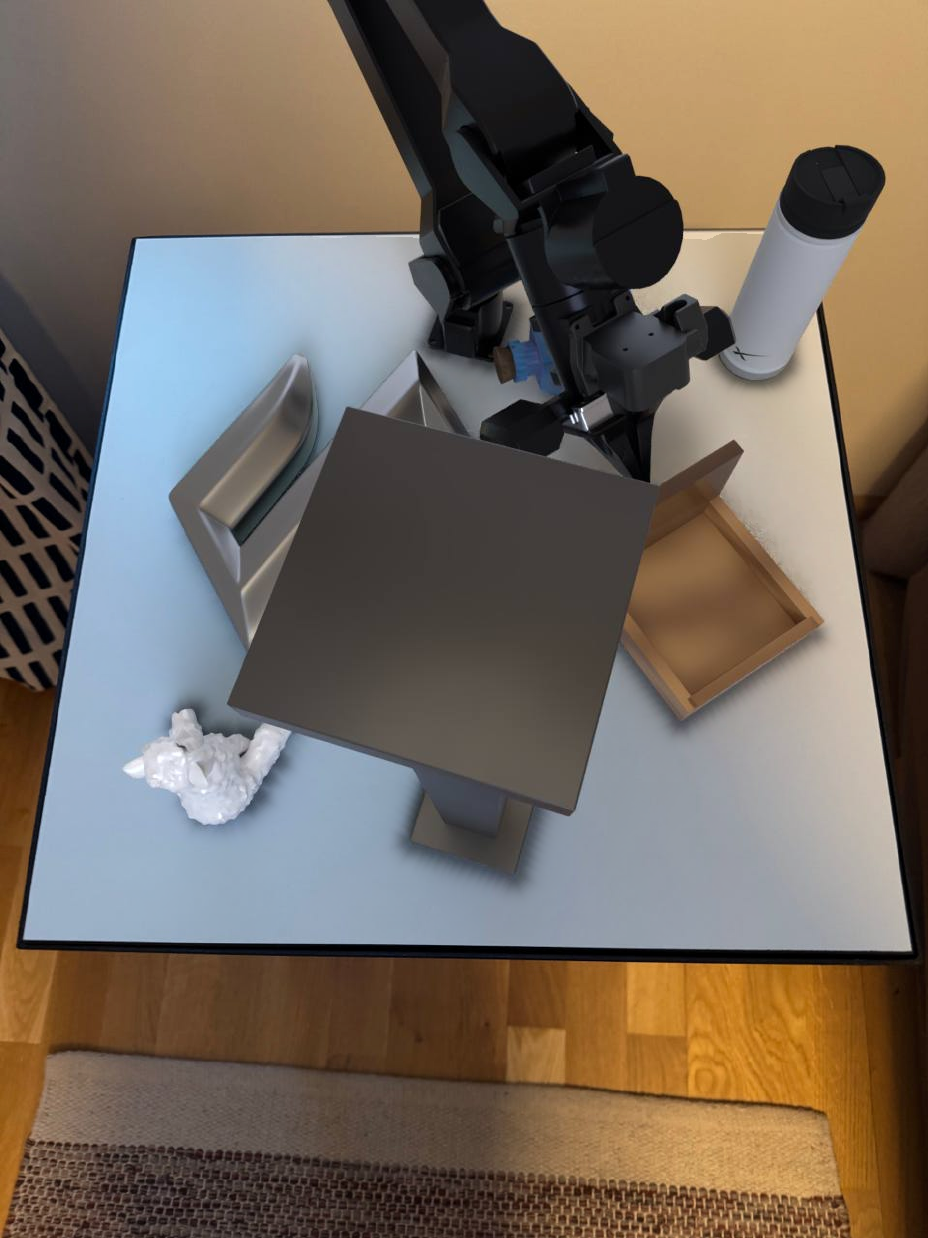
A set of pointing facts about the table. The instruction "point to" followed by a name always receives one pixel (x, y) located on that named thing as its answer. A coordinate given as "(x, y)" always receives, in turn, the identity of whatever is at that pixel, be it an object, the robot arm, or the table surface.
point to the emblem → (278, 479)
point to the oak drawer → (708, 593)
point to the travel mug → (800, 255)
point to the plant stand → (452, 622)
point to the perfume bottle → (526, 362)
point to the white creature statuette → (209, 766)
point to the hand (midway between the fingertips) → (642, 487)
